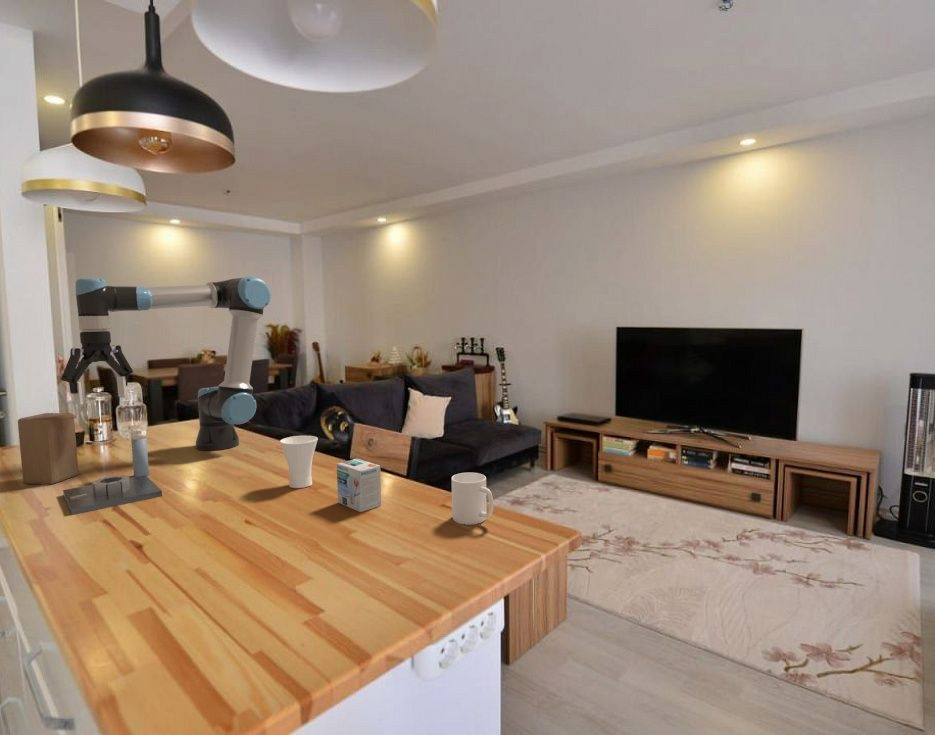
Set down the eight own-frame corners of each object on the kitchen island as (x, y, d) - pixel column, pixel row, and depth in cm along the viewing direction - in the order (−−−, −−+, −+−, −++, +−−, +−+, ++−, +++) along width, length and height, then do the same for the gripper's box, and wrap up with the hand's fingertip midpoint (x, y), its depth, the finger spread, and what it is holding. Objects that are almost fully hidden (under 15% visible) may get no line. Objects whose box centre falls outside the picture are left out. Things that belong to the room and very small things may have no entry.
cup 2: (469, 509, 132) (469, 470, 131) (505, 522, 123) (504, 480, 122) (444, 518, 126) (444, 477, 125) (480, 532, 117) (480, 489, 116)
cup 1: (290, 493, 145) (288, 445, 144) (276, 484, 153) (274, 439, 152) (325, 485, 152) (324, 439, 151) (310, 477, 160) (308, 433, 159)
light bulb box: (336, 503, 138) (335, 463, 136) (358, 496, 142) (356, 457, 141) (361, 513, 130) (359, 470, 129) (382, 505, 135) (381, 465, 134)
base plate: (145, 479, 159) (144, 465, 159) (162, 495, 144) (161, 480, 144) (63, 495, 146) (62, 479, 145) (72, 514, 131) (70, 497, 130)
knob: (132, 475, 164) (129, 429, 162) (147, 473, 166) (144, 427, 165) (135, 478, 161) (132, 431, 159) (150, 475, 163) (147, 429, 162)
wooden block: (80, 475, 165) (75, 412, 163) (52, 485, 155) (46, 418, 153) (51, 474, 166) (45, 412, 164) (21, 484, 156) (15, 418, 154)
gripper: (125, 329, 170) (130, 393, 172) (41, 332, 146) (48, 407, 149) (142, 329, 167) (147, 394, 170) (59, 332, 144) (67, 408, 146)
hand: (101, 400), depth 159 cm, fingers open, 13 cm apart
